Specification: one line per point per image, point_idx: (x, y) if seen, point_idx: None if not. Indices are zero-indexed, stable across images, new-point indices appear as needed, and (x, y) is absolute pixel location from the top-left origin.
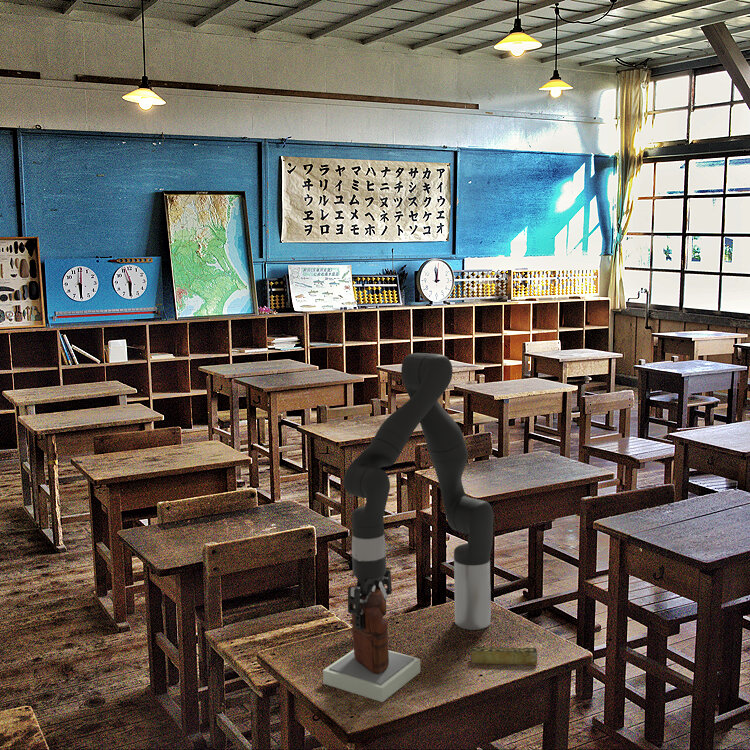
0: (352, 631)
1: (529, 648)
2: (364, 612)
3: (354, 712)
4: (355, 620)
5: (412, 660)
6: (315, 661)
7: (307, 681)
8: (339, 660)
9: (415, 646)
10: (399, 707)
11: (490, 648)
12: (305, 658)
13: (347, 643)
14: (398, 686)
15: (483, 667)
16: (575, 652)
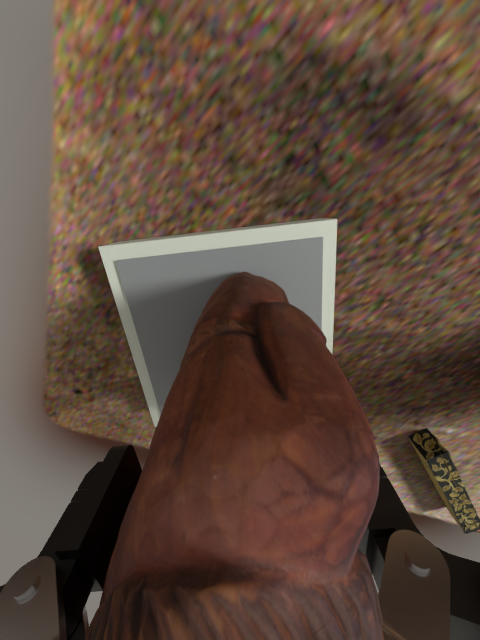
0: (199, 321)
1: (478, 522)
2: (84, 616)
3: (92, 386)
4: (67, 511)
5: None
6: (198, 99)
7: (90, 190)
8: (185, 243)
9: (442, 303)
10: None
11: (452, 480)
12: (190, 38)
13: (377, 95)
14: None
15: (398, 458)
16: None
